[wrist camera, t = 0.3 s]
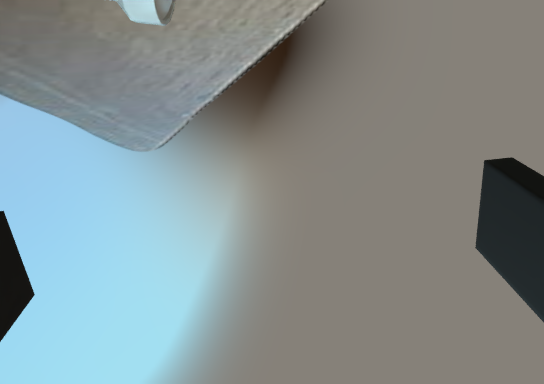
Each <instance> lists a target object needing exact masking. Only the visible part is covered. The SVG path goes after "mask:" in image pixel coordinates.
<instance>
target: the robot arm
mask: <svg viewBox="0 0 544 384" xmlns="http://www.w3.org/2000/svg"><path fill="white" fill-rule="evenodd" d="M476 249H477V250H478V251H479V252H480V253H481V254H482V255H483V256H484V258H485V259H486V260H487V261H488V262H489V263H490V264H491V265H492V266H493V267H494V268H495V270H496V271H497V272H498V273H499V274H500V275H501V276H502V277H503V278H504V279H505V280H506V281H507V283H508V284H509V285H510V286H511V287H512V288H513V289H514V290H515V291H516V293H517V294H519V296H520V297H521V298H522V299H523V300H524V301H525V302H526V303H527V305H528V306H529V307H530V308H531V309H532V310H533V311H534V312H535V313H536V314H537V315H538V317H539V318H540V319H541V320H542V321H543V322H544V176H542V175H541V174H539V173H537V172H536V171H534V170H532V169H531V168H529V167H527V166H526V165H524V164H522V163H521V162H519V161H517V160H516V159H514V158H502V159H493V160H485V161H484V169H483V179H482V189H481V200H480V209H479V219H478V229H477V239H476ZM33 296H34V292H33V289H32V287H31V284H30V281H29V278H28V275H27V273H26V270H25V267H24V265H23V262H22V259H21V257H20V254H19V251H18V249H17V246H16V244H15V240H14V238H13V235H12V232H11V230H10V227H9V224H8V222H7V219H6V216H5V213H4V211H0V341H1V340H2V339H3V337H4V336H5V335H6V333H7V331H8V330H9V329H10V328H11V326H12V325H13V323H14V322H15V321H16V320H17V318H18V317H19V315H20V314H21V313H22V311H23V310H24V308H25V307H26V306H27V304H28V303H29V302H30V300H31V299H32V298H33Z"/></svg>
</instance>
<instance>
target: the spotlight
mask: <svg viewBox="0 0 544 384" xmlns="http://www.w3.org/2000/svg"><path fill="white" fill-rule="evenodd" d="M112 1H117V3H118V4H119V5H120V7H121V8H122V9H123V11H124V12H125V13H126V14H127V16H128V17H129V18H130V20H132V21H134V22H136V23H144V24H154V25H164V26H166V25H167V24H168V23H169V22H170V20H171V17H172V14H173V12H174V7H175V0H112Z"/></svg>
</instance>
